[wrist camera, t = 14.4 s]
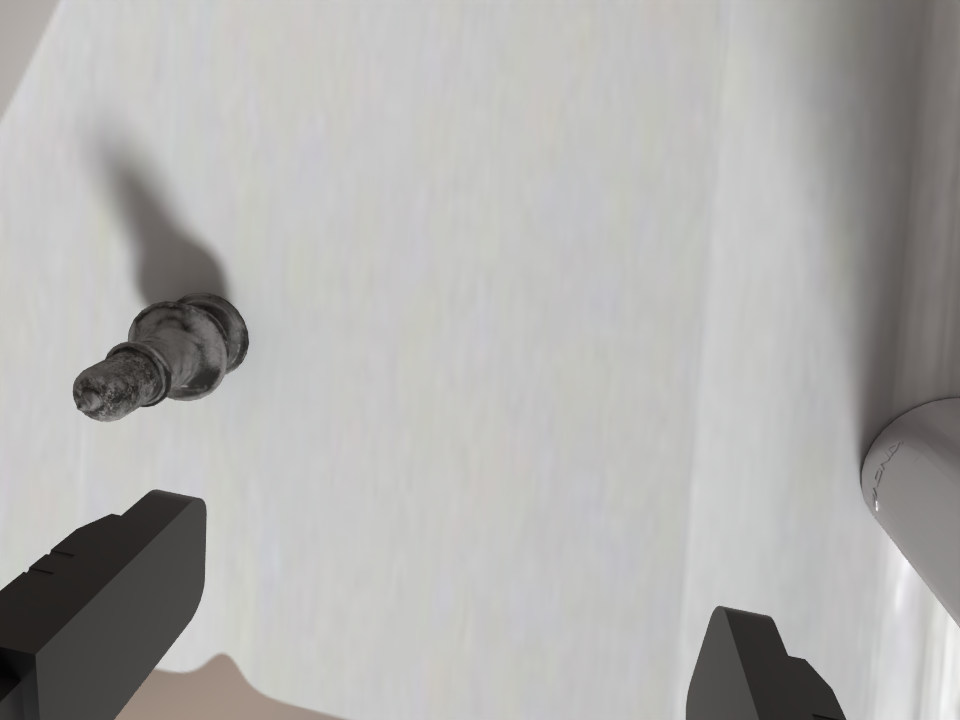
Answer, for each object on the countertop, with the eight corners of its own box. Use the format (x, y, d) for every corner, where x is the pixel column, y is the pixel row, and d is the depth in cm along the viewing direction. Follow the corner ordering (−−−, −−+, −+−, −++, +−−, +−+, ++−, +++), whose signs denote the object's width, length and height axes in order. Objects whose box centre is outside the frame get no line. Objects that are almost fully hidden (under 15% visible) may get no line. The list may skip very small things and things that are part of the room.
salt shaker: (162, 279, 43) (13, 335, 31) (255, 297, 42) (139, 360, 31) (161, 370, 44) (20, 453, 33) (250, 388, 44) (139, 478, 33)
